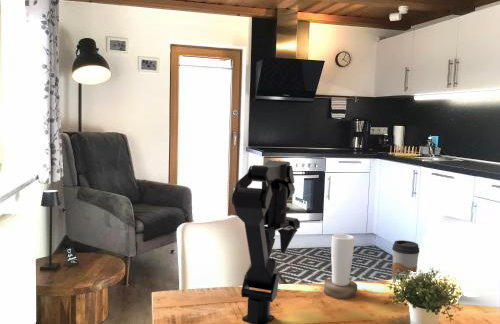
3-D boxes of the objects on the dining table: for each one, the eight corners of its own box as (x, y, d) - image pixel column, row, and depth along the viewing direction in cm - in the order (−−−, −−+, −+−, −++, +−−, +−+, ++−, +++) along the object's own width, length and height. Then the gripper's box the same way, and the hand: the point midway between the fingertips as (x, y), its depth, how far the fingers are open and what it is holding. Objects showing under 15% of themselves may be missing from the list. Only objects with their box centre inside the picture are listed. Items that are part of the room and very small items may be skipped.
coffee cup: (384, 287, 147) (387, 242, 146) (398, 282, 153) (401, 238, 152) (408, 295, 141) (411, 248, 140) (421, 289, 147) (424, 244, 145)
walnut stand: (349, 302, 134) (350, 292, 134) (318, 294, 140) (319, 284, 140) (361, 292, 143) (361, 282, 142) (331, 284, 148) (332, 275, 148)
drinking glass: (355, 287, 139) (358, 239, 137) (334, 288, 137) (336, 239, 136) (345, 279, 145) (348, 233, 144) (325, 280, 144) (328, 233, 142)
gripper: (270, 196, 144) (268, 244, 146) (235, 204, 129) (233, 258, 130) (301, 200, 138) (299, 251, 139) (268, 210, 122) (266, 266, 124)
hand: (274, 256), depth 133 cm, fingers open, 9 cm apart
